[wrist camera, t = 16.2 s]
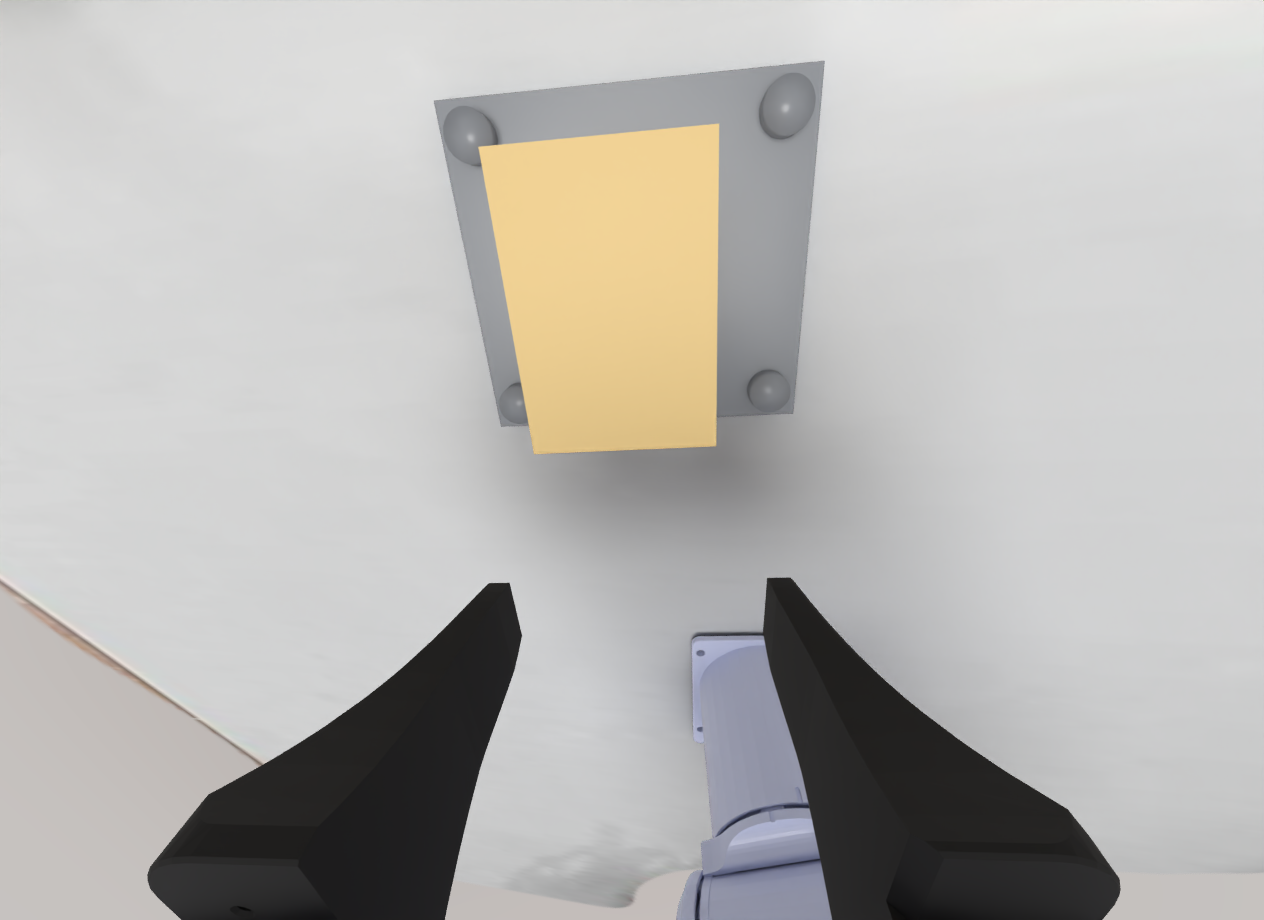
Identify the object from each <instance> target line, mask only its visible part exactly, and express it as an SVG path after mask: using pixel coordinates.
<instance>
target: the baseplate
mask: <svg viewBox="0 0 1264 920" xmlns="http://www.w3.org/2000/svg"><path fill="white" fill-rule="evenodd" d="M824 63H825V61H818V62H808V63H798V64H788V65H779V66H769V67H759V68H749V69H739V70H730V71H720V72H710V73H700V74H690V75H681V76H671V77H661V78H651V79H641V80H632V81H622V82H612V83H602V84H592V85H583V86H573V87H563V88H553V89H543V90H534V91H524V92H514V93H504V94H494V95H485V96H475V97H465V98H455V99H445V100H436V101H434V104H435V109H436V114H437V119H438V124H439V129H440V133H441V138H442V143H443V148H444V153H445V158H446V162H447V167H448V172H449V177H450V182H451V187H452V191H453V196H454V201H455V206H456V211H457V216H458V220H459V225H460V230H461V235H462V240H463V245H464V249H465V254H466V259H467V264H468V269H469V274H470V278H471V283H472V288H473V293H474V298H475V303H476V307H477V312H478V317H479V322H480V327H481V332H482V336H483V341H484V346H485V351H486V356H487V361H488V365H489V370H490V375H491V380H492V385H493V389H494V394H495V399H496V404H497V409H498V414H499V418H500V423H501V427H505V426H527V425H529V423H528V418H527V412H526V407H525V401H524V396H523V390H522V385H521V379H520V374H519V368H518V363H517V357H516V352H515V346H514V341H513V335H512V330H511V324H510V318H509V313H508V307H507V302H506V296H505V291H504V285H503V280H502V274H501V269H500V263H499V258H498V252H497V247H496V241H495V236H494V230H493V225H492V219H491V214H490V208H489V203H488V197H487V192H486V186H485V181H484V175H483V170H482V164H481V159H480V153H479V148H478V147H482V146H492V145H502V144H513V143H523V142H533V141H544V140H554V139H564V138H575V137H585V136H595V135H606V134H616V133H626V132H637V131H647V130H657V129H668V128H678V127H688V126H699V125H709V124H719V200H718V303H717V407H716V417H726V416H748V415H770V414H792V413H793V409H794V397H795V386H796V375H797V364H798V353H799V342H800V331H801V319H802V308H803V297H804V286H805V275H806V264H807V252H808V241H809V230H810V219H811V208H812V197H813V186H814V174H815V163H816V152H817V141H818V130H819V119H820V108H821V96H822V85H823V74H824Z"/></svg>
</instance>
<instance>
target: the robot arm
mask: <svg viewBox="0 0 1264 920" xmlns="http://www.w3.org/2000/svg"><path fill="white" fill-rule="evenodd" d="M521 638H522V634H521V630H520V625H519V621H518V617H517V613H516V608H515V604H514V600H513V596H512V592H511V587H510V583H489V584H488V585H487V586H486V587H485V588H484V589H483V590H482V591H481V592H480V593H479V594H478V595H477V596H476V597H475V598H474V599H473V600H472V601H471V602H470V603H469V604H468V605H467V606H466V607H465V608H464V609H463V610H462V611H461V612H460V613H459V614H458V615H457V616H456V617H455V618H454V619H453V620H452V621H451V622H450V623H449V624H448V625H447V626H446V627H445V628H444V629H443V630H442V631H441V632H440V633H439V634H438V635H437V636H436V637H435V638H434V639H433V640H432V641H431V642H430V643H429V644H428V645H427V646H426V647H425V648H424V649H422V650H421V651H420V652H419V653H418V654H417V655H416V656H415V657H414V658H413V659H412V660H410V661H409V662H408V663H407V664H406V665H405V666H404V667H403V668H401V669H400V670H399V671H398V672H397V673H396V674H394V675H393V676H392V677H391V678H390V679H388V680H387V681H386V682H385V683H383V684H382V685H381V686H380V687H378V688H377V689H376V690H375V691H373V692H372V693H371V694H369V695H368V696H367V697H366V698H364V699H363V700H362V701H360V702H359V703H357V704H356V705H355V706H353V707H352V708H350V709H349V710H347V711H346V712H345V713H343V714H342V715H340V716H339V717H338V718H336V719H335V720H333V721H332V722H331V723H329V724H328V725H326V726H325V727H323V728H322V729H320V730H319V731H317V732H316V733H314V734H313V735H311V736H309V737H308V738H306V739H305V740H303V741H302V742H300V743H299V744H297V745H295V746H294V747H292V748H290V749H289V750H287V751H285V752H284V753H282V754H281V755H279V756H277V757H276V758H274V759H272V760H270V761H269V762H267V763H265V764H264V765H262V766H260V767H258V768H256V769H255V770H253V771H251V772H249V773H247V774H246V775H244V776H242V777H240V778H238V779H236V780H235V781H233V782H231V783H229V784H227V785H226V786H224V787H222V788H220V789H218V790H216V791H215V792H212V793H211V794H209V795H208V796H207V797H206V798H205V799H204V801H203V802H202V803H201V804H200V806H199V807H198V808H197V809H196V811H195V812H194V813H193V814H192V816H191V817H190V818H189V819H188V820H187V822H186V823H185V825H184V826H183V827H182V828H181V829H180V830H179V832H178V833H177V834H176V835H175V837H174V838H173V839H172V840H171V842H170V843H169V844H168V845H167V847H166V848H165V849H164V850H163V852H162V853H161V854H160V855H159V857H158V858H157V859H156V860H155V862H154V863H153V864H152V866H151V867H150V869H149V872H148V883H149V886H150V889H151V890H152V891H153V892H154V894H155V895H156V896H157V897H158V898H159V899H160V900H161V901H162V902H163V903H164V904H165V905H166V906H167V907H169V909H171V910H172V911H173V912H174V913H175V914H176V915H177V916H178V917H179V918H180V919H181V920H445V915H446V910H447V905H448V901H449V896H450V891H451V887H452V882H453V878H454V873H455V869H456V864H457V859H458V855H459V851H460V846H461V842H462V838H463V834H464V830H465V825H466V821H467V817H468V813H469V809H470V805H471V801H472V797H473V793H474V790H475V786H476V782H477V778H478V774H479V770H480V767H481V764H482V761H483V758H484V754H485V751H486V749H487V746H488V743H489V740H490V737H491V735H492V732H493V729H494V726H495V723H496V721H497V718H498V715H499V712H500V710H501V707H502V704H503V701H504V698H505V696H506V693H507V690H508V687H509V684H510V681H511V678H512V676H513V673H514V669H515V665H516V661H517V657H518V652H519V647H520V643H521ZM698 650H702V651H698ZM692 699H693V739H694V740H695V741H696V742H698V743H704V747H705V758H706V769H707V780H708V792H709V803H710V814H711V825H712V836H713V839H710V840H706V841H702V842H701V851H702V866H703V870H697V871H694V872H693V873H691V874H690V876H689V878H688V880H687V882H686V885H685V888H684V891H683V894H682V896H681V899H680V901H679V905H678V911H677V918H676V920H1102V919H1103V918H1104V917H1105V916H1106V915H1107V913H1108V912H1109V911H1110V909H1111V908H1112V907H1113V906H1114V905H1115V903H1116V901H1117V898H1118V897H1119V894H1120V880H1119V878H1118V876H1117V875H1116V873H1115V872H1114V870H1113V869H1112V868H1111V866H1110V865H1109V863H1108V862H1107V861H1106V859H1105V858H1104V856H1103V855H1102V854H1101V852H1100V851H1099V849H1098V848H1097V846H1096V845H1095V844H1094V842H1093V841H1092V839H1091V838H1090V837H1089V835H1088V834H1087V833H1086V832H1085V830H1084V829H1083V828H1082V827H1081V825H1080V824H1079V823H1078V822H1077V821H1076V819H1075V818H1074V817H1073V815H1072V814H1071V813H1070V812H1069V810H1068V809H1066V808H1064V807H1063V806H1061V805H1060V804H1058V803H1056V802H1055V801H1053V800H1051V799H1050V798H1048V797H1046V796H1045V795H1043V794H1042V793H1040V792H1038V791H1037V790H1035V789H1033V788H1032V787H1030V786H1028V785H1027V784H1025V783H1023V782H1022V781H1020V780H1019V779H1017V778H1015V777H1014V776H1012V775H1010V774H1009V773H1007V772H1006V771H1004V770H1003V769H1001V768H1000V767H998V766H997V765H995V764H994V763H992V762H991V761H989V760H988V759H986V758H985V757H983V756H982V755H980V754H979V753H977V752H976V751H974V750H973V749H971V748H970V747H969V746H967V745H966V744H964V743H963V742H962V741H960V740H959V739H957V738H956V737H955V736H953V735H952V734H951V733H949V732H948V731H947V730H945V729H944V728H943V727H941V726H940V725H939V724H937V723H936V722H935V721H933V720H932V719H931V718H929V717H928V716H927V715H925V714H924V713H923V712H921V711H920V710H919V709H918V708H917V707H915V706H914V705H913V704H912V703H910V702H909V701H908V700H907V699H906V698H904V697H903V696H902V695H901V694H900V693H899V692H898V691H896V690H895V689H894V688H893V687H892V686H891V685H889V684H888V683H887V682H886V681H885V680H884V679H883V678H882V677H881V676H880V675H879V674H877V673H876V672H875V671H874V670H873V669H872V668H871V667H870V666H869V665H868V664H867V663H866V662H865V661H864V660H863V659H862V658H861V657H860V656H859V655H858V654H857V653H856V652H855V651H854V650H853V649H852V648H851V647H850V646H849V645H848V644H847V643H846V642H845V641H844V639H843V638H842V637H841V636H840V635H839V634H838V633H837V632H836V631H835V630H834V628H833V627H832V626H831V625H830V624H829V623H828V622H827V621H826V620H825V618H824V617H823V616H822V615H821V614H820V613H819V611H818V610H817V609H816V608H815V607H814V605H813V604H812V603H811V602H810V601H809V599H808V598H807V597H806V596H805V594H804V593H803V592H802V591H801V589H800V588H799V587H798V586H797V584H796V583H795V582H794V581H793V580H792V579H791V578H767V588H766V602H765V615H764V628H763V636H698V637H695V638H694V639H693V640H692Z"/></svg>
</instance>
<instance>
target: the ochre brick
mask: <svg viewBox="0 0 1264 920" xmlns="http://www.w3.org/2000/svg"><path fill="white" fill-rule="evenodd" d="M478 148H479V153H480V159H481V164H482V170H483V175H484V181H485V186H486V192H487V197H488V203H489V208H490V214H491V219H492V225H493V230H494V236H495V241H496V247H497V252H498V258H499V263H500V269H501V274H502V280H503V285H504V291H505V296H506V302H507V307H508V313H509V318H510V324H511V330H512V335H513V341H514V346H515V352H516V357H517V363H518V368H519V374H520V379H521V385H522V390H523V396H524V401H525V407H526V412H527V418H528V423H529V429H530V434H531V440H532V445H533V451H534V454H548V453H571V452H595V451H618V450H641V449H665V448H688V447H711V446H716V407H717V303H718V200H719V124H709V125H699V126H688V127H678V128H668V129H657V130H647V131H637V132H626V133H616V134H606V135H595V136H585V137H575V138H564V139H554V140H544V141H533V142H523V143H513V144H502V145H492V146H482V147H478Z"/></svg>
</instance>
